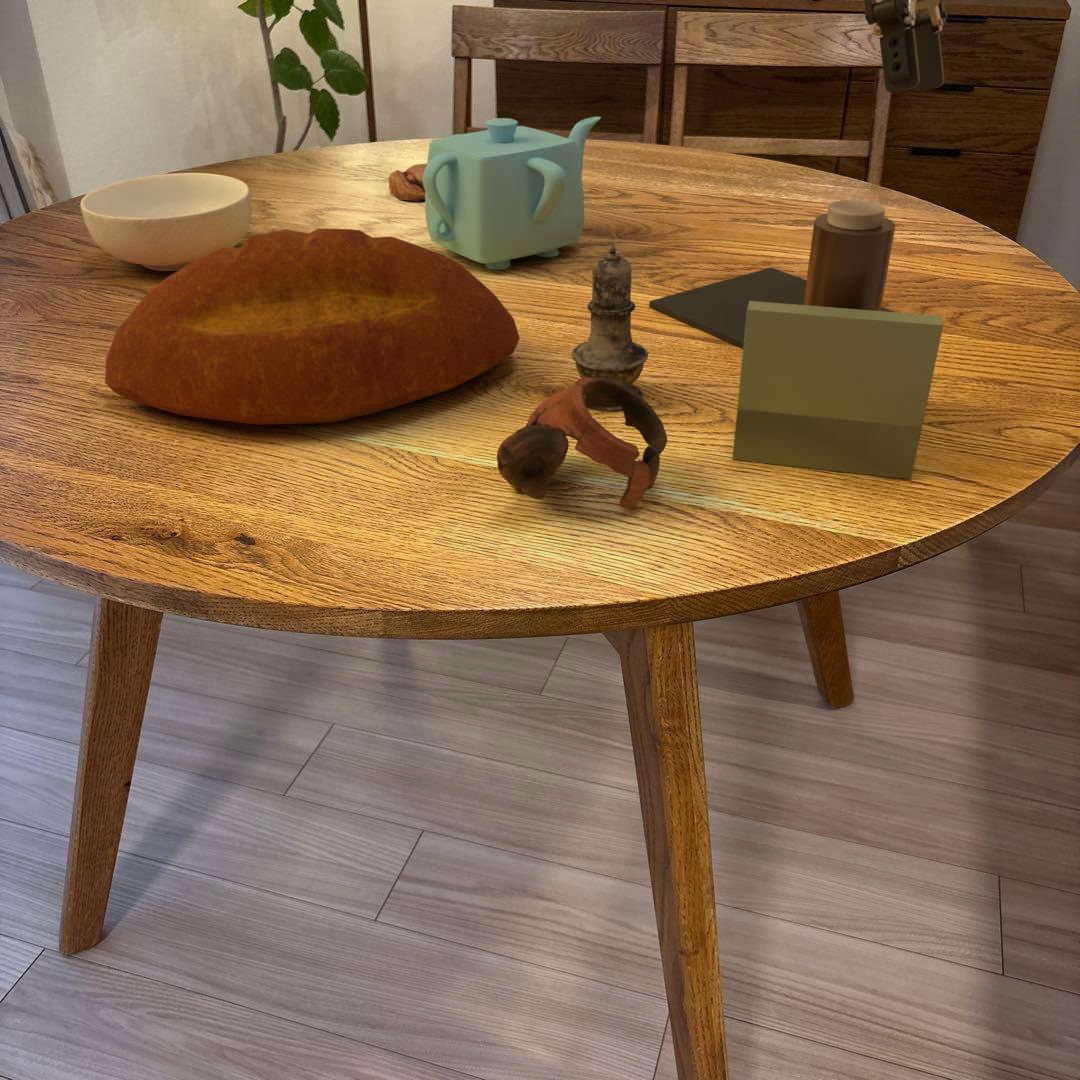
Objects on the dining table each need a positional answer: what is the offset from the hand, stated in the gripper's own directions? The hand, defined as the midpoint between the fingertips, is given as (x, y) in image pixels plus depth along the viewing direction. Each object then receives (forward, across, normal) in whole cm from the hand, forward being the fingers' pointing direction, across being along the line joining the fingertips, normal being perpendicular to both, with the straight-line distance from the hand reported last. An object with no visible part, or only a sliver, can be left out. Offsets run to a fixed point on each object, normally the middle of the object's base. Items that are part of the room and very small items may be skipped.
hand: (916, 89), depth 76 cm
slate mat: (+15, +9, +17) cm, 24 cm away
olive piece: (+22, -11, +7) cm, 26 cm away
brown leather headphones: (+21, -28, +19) cm, 39 cm away
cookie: (-4, +28, +66) cm, 72 cm away
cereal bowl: (-2, -6, +75) cm, 75 cm away
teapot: (+5, +14, +46) cm, 48 cm away
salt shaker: (+17, -14, +22) cm, 31 cm away
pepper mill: (+18, -11, +6) cm, 22 cm away
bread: (+11, -22, +43) cm, 50 cm away
